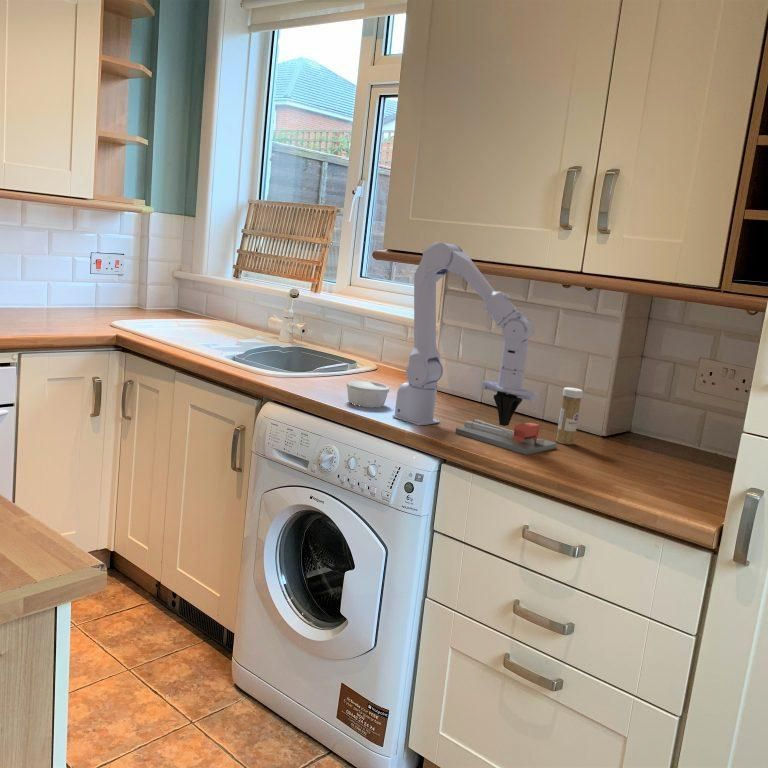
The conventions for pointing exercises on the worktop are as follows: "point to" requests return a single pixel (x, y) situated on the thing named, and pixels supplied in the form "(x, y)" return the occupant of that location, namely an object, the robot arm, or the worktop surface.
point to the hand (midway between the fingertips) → (503, 425)
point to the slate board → (504, 441)
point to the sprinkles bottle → (569, 415)
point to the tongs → (501, 431)
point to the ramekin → (367, 393)
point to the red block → (525, 431)
